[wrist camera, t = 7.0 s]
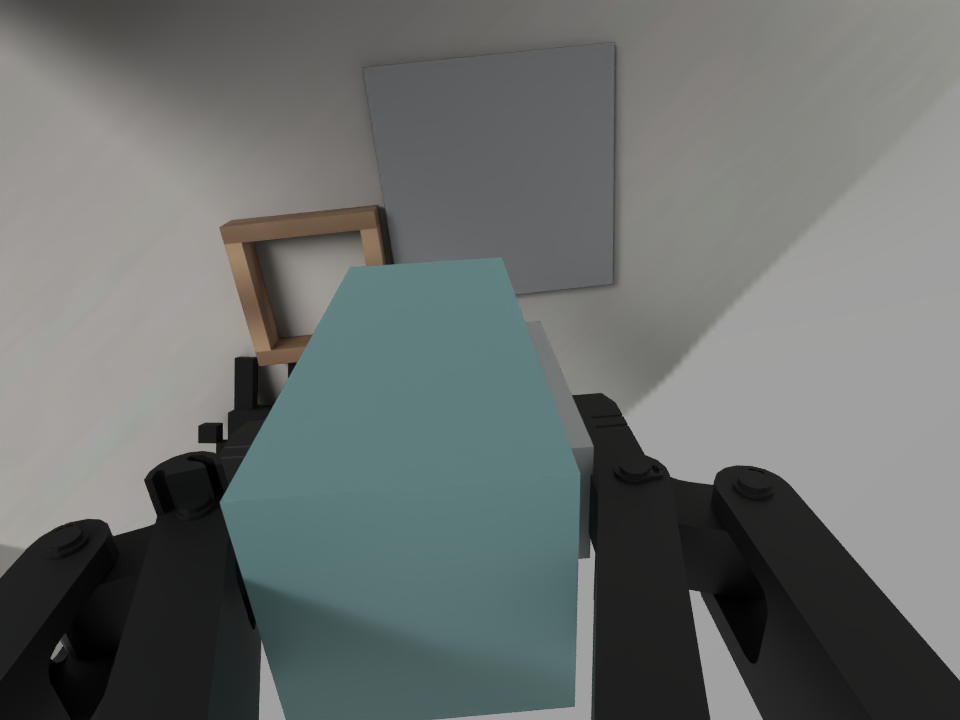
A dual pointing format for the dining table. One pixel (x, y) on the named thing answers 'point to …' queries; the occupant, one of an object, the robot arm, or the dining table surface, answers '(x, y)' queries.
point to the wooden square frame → (250, 276)
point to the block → (413, 507)
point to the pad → (501, 162)
